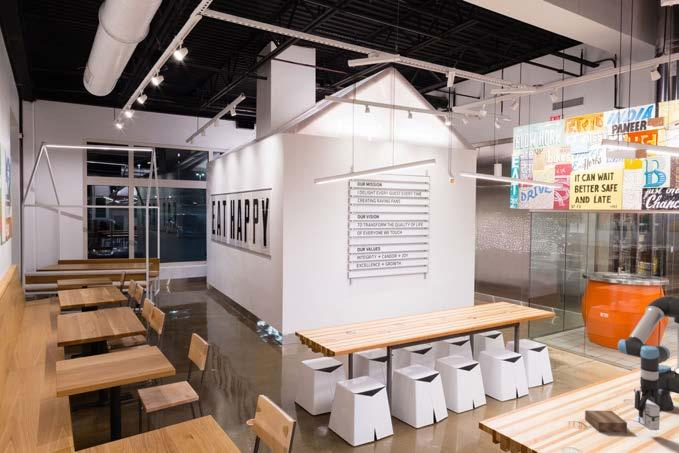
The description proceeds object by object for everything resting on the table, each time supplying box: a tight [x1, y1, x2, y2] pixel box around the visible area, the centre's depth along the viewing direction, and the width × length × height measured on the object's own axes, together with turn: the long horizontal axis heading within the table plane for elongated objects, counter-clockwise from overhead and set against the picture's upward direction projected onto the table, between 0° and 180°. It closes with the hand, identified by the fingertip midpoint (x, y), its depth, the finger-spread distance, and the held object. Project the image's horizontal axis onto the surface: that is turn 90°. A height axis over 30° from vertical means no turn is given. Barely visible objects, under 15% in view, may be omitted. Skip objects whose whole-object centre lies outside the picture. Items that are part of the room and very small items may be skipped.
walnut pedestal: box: [584, 410, 628, 433], centre depth 241 cm, size 14×14×5 cm
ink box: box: [637, 399, 661, 431], centre depth 230 cm, size 8×5×12 cm, turn 5°
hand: (648, 423), depth 230 cm, fingers closed on ink box, 5 cm apart
